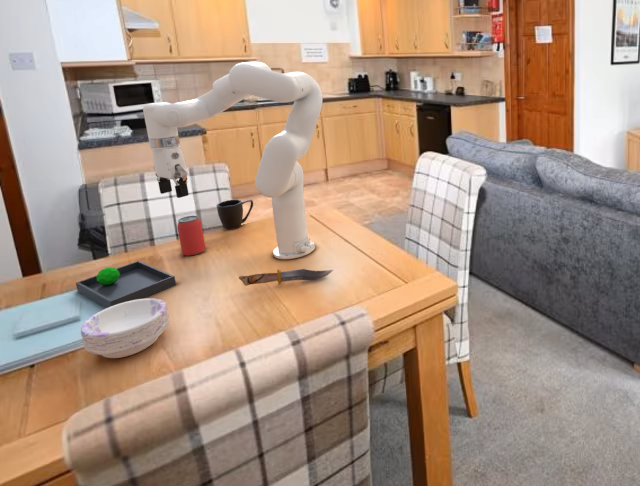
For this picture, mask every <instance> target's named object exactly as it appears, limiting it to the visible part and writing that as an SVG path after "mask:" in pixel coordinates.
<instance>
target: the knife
mask: <svg viewBox="0 0 640 486" xmlns="http://www.w3.org/2000/svg"><path fill="white" fill-rule="evenodd" d="M333 271H334V269H327V270H326V269H325V270H311V269H306V268H301V269H300V268H299V269H292V270H284V271H281V270H280V269H277V272H267V273H265V272H263V273H255V274H251V275H240V276H238V279H239V281H241V282H242V284H243V285H244V286H246V287H247V286H250V285H256V284H257V285H258V284H267V283H273V282H277V283H278V286H280V285H281V284H282V283H285V282H292V281H293V282H294V281H307V282H313V281H319V280H321V279H323V278H325V277H327V276H329V275H330V274H331V273H332V272H333Z"/></svg>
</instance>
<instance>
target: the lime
mask: <svg viewBox="0 0 640 486" xmlns="http://www.w3.org/2000/svg"><path fill="white" fill-rule="evenodd" d="M96 275H97V277H96V278H97V281H98V282H99V283H100V284H102V285H111V284H113V283H115V282H116V281H117V280H118V278H119V276H120V273H119V271H118V270H117V269H116V267H113V266H112V267H111V266H108V267H104V268H102V269H101V270H99V271H98V273H97V274H96Z"/></svg>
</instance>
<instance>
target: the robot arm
mask: <svg viewBox="0 0 640 486" xmlns="http://www.w3.org/2000/svg"><path fill="white" fill-rule="evenodd" d="M251 96H254V97H258V98H262V99H266V100H269V101H273V102H278V103H291V102H293V105H292V106H291V109H290V111H289V112H288V115H287V120H286V121H285V125H284V126H283V129H282V131H281V132H280V133H278V134H275V135H274V136H272V137H271V138H270V139H269V140H268V141H267V144H266V145H265V147H264V149H263V152H262V156H261V158H260V161H259V165H258V168H257V171H256V175H255V179H254V180H255V181H254V182H255V187H256V190H257V191H258V193H259V194H260V195H262V196H263V197H265V198H271V206H272V216H273V221H274V230H275V235H276V243H277V247H275V248H274V249H273V251H272V254H273V257H274V258H276V259H278V260H293V259H298V258H302V257H304V256H307V255H309V254H310V253H312V252H313V251H314V250H315V247H316V245H315V243H314V241H312V240H311V238H310V237H309V229H308V228H309V227H308V219H307V213H306V203H305V192H304V182H305V175H304V170H303V167H302V164H301V163H300V162H298V160H300V159H301V158H303V157H304V156H305V155H306V154H307V153H308V151H309V149H310V146H311V143H312V140H313V136H314V134H315V131H316V128H317V124H318V120H319V118H320V114H321V111H322V107H323V93H322V89H321V86H320V84H319V83H318V81H317V80H315V78H314V77H313V76H312V75H310V74H308V73H306V72H304V71H289V72H283V73H282V72H277V71H274V70H272V69H271V67H270V65H268V64H266V63H265V62H261V61H244V62H239V63H237V64H234V65H233V66H232V67H231V69H230V70H229V72H228V73H227V74H225V75H224V76H222V77H219V78H218V79H216V80H214V82H213V84H212V89H210V91H208V92H206V93H203V94H202V95H200V96H197V97H196V98H193V99H188V100H184V101H178V102H174V103H170V102H164V101H163V102H152V103H151V102H150V103H146V104H145V105H143V107H142V111H143V116H144V123H145V127H146V132H147V137H148V143H149V148H150V150H152V161H153V170H154V172H155V176H156V177H157V178H156V181H157V183H158V188H159V193H160V194H161V195H164V194H167V193H171V192H172V191H173V188H172V182H171V180H172V181H173V182H174V184H175V185H174V190H175V194H176V198H178V199H180V198H185V197H187V196H189V189H188V188H189V187H188V174H189V173H188V169H187V168H188V167H187V165H186V160H185V156H184V153H183V151H182V148H181V142H180V138H179V130H178V128H185V127H189V126H190V127H191V126H193V125H196V124H200V123H203V122H205V121H208V120H210V119H212V118H214V117H215V116H217V115H220V114H221V113H223V112H224V111H225V112H226V110H228V109H230V108H231V107H233V106H234V105H236V104H238V103H240V102H242V101H243V100H245V99H247V98H249V97H251Z"/></svg>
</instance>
